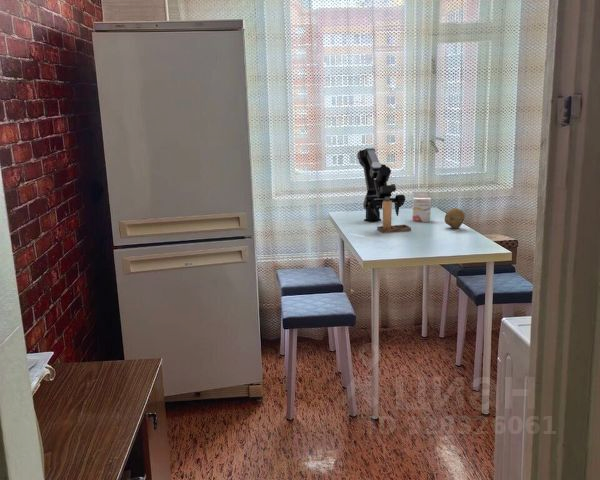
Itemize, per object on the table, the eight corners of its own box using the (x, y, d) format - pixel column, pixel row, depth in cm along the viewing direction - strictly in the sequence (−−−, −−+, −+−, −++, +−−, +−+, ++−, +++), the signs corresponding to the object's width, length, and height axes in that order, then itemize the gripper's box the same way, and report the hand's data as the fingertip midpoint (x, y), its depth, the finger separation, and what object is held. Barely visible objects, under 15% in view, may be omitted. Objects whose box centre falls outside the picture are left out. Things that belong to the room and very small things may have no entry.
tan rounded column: (380, 230, 292) (381, 196, 288) (387, 229, 294) (388, 195, 290) (386, 231, 288) (386, 197, 284) (393, 230, 290) (393, 196, 286)
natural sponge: (449, 231, 288) (450, 210, 286) (440, 227, 297) (441, 207, 295) (467, 230, 291) (468, 209, 288) (457, 226, 299) (458, 205, 297)
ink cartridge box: (413, 222, 311) (413, 192, 308) (412, 220, 316) (412, 191, 312) (430, 222, 310) (431, 192, 307) (429, 220, 315) (430, 191, 311)
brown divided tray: (382, 234, 287) (382, 229, 286) (377, 230, 294) (377, 226, 293) (410, 231, 290) (411, 227, 290) (405, 228, 297) (405, 224, 296)
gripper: (365, 179, 288) (371, 206, 280) (404, 177, 290) (411, 205, 282) (361, 193, 297) (367, 220, 289) (399, 191, 300) (406, 218, 292)
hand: (387, 215), depth 288 cm, fingers open, 9 cm apart
